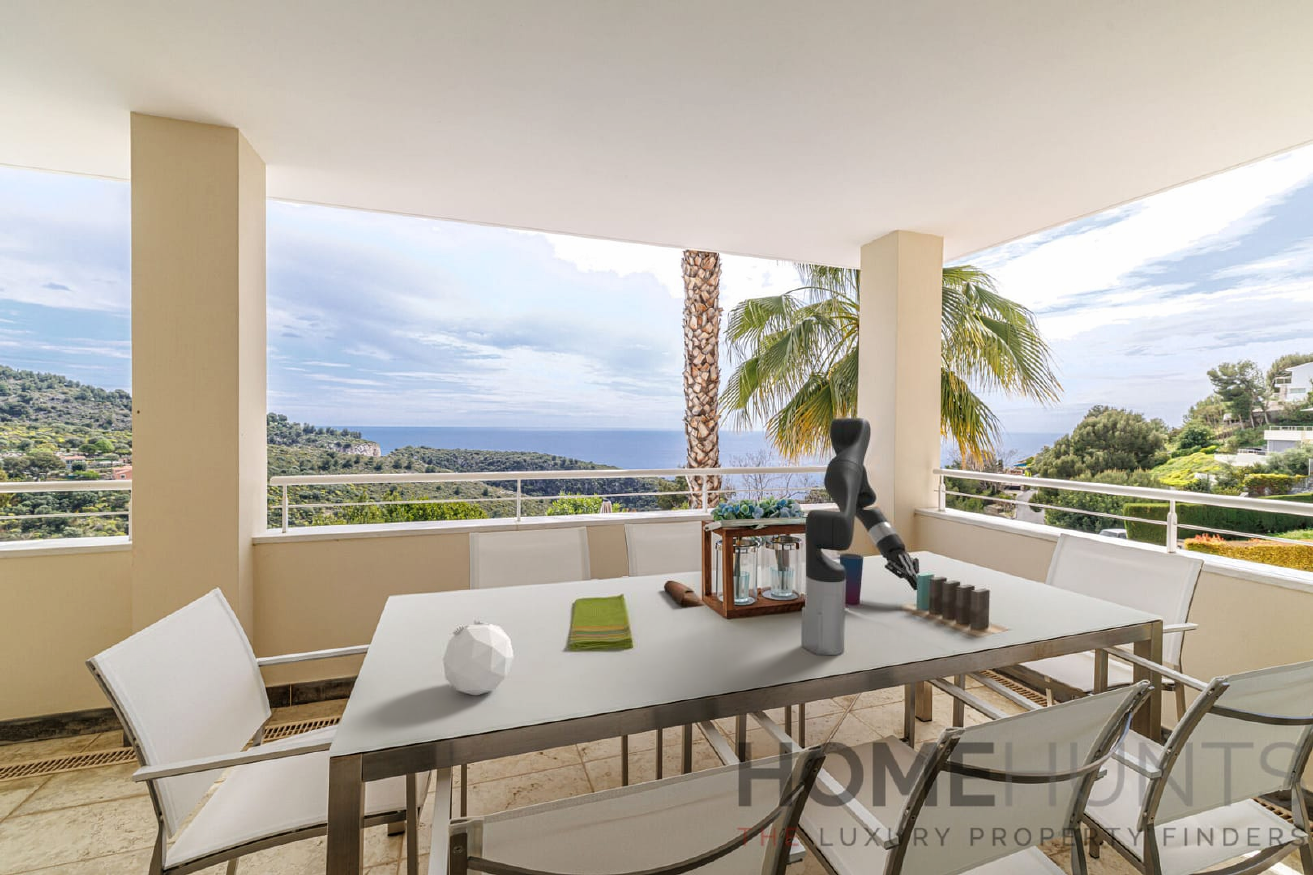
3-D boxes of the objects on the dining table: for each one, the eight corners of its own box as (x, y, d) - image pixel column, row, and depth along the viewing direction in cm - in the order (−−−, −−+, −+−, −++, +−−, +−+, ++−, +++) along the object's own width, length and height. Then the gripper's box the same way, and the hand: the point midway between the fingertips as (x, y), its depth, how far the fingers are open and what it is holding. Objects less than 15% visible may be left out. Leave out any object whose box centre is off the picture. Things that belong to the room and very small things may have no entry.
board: (976, 641, 139) (976, 637, 139) (896, 610, 162) (896, 607, 162) (1011, 633, 145) (1011, 629, 145) (929, 604, 168) (929, 601, 168)
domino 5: (976, 630, 144) (977, 592, 144) (970, 628, 145) (971, 590, 145) (988, 627, 146) (989, 590, 146) (982, 625, 148) (983, 588, 147)
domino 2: (933, 614, 155) (934, 579, 155) (928, 613, 157) (929, 578, 157) (946, 612, 157) (946, 577, 157) (941, 610, 159) (941, 576, 159)
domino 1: (921, 610, 159) (921, 576, 159) (916, 608, 161) (917, 574, 160) (933, 608, 161) (933, 574, 161) (928, 606, 163) (929, 572, 163)
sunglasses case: (707, 605, 163) (697, 587, 162) (688, 619, 162) (677, 600, 161) (688, 588, 181) (678, 571, 180) (670, 600, 179) (660, 583, 178)
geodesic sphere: (432, 688, 98) (480, 618, 103) (415, 661, 109) (458, 599, 114) (495, 718, 105) (536, 651, 110) (472, 689, 116) (511, 630, 121)
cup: (858, 610, 161) (859, 559, 161) (835, 605, 165) (836, 556, 165) (865, 604, 167) (866, 555, 166) (842, 600, 171) (843, 552, 170)
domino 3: (947, 619, 152) (948, 583, 151) (942, 617, 153) (943, 582, 153) (959, 617, 154) (960, 581, 153) (954, 615, 155) (955, 580, 155)
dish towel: (568, 653, 129) (568, 639, 129) (574, 604, 165) (574, 593, 165) (633, 651, 131) (634, 637, 131) (625, 603, 167) (625, 592, 167)
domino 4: (961, 624, 148) (962, 587, 148) (955, 622, 149) (956, 586, 149) (973, 622, 150) (974, 585, 150) (968, 620, 151) (969, 584, 151)
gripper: (877, 534, 168) (910, 584, 157) (908, 531, 174) (942, 579, 163) (864, 547, 173) (895, 597, 162) (894, 544, 179) (926, 592, 168)
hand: (918, 588), depth 163 cm, fingers closed
